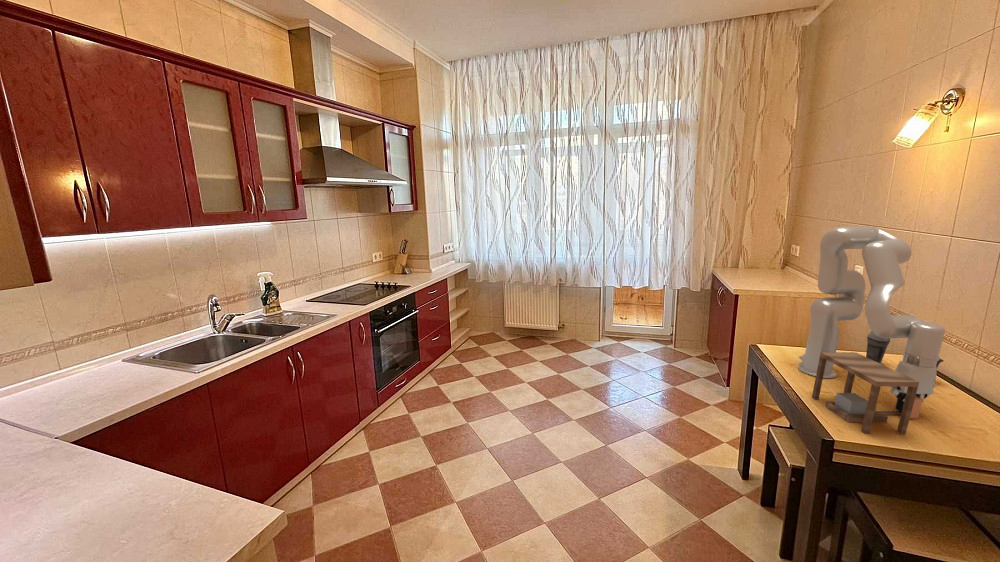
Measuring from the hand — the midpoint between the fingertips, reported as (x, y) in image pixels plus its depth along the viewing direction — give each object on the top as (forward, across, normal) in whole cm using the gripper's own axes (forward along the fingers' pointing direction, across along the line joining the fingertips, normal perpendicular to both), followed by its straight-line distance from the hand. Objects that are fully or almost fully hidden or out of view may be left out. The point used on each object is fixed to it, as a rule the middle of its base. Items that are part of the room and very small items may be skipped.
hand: (906, 410), depth 134 cm
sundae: (+2, -30, -24) cm, 39 cm away
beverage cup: (+2, -24, -40) cm, 47 cm away
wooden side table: (+2, +16, 0) cm, 17 cm away
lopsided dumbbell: (+1, +10, 0) cm, 10 cm away
